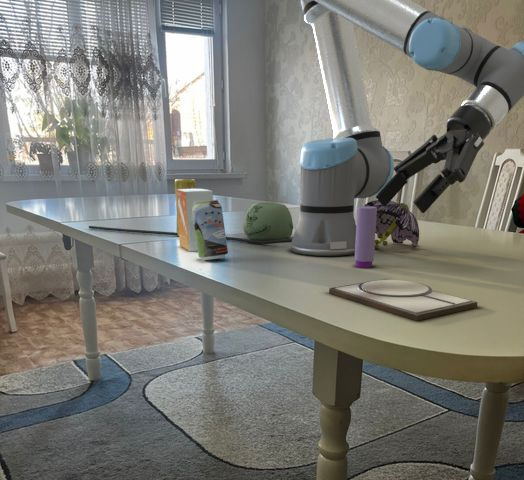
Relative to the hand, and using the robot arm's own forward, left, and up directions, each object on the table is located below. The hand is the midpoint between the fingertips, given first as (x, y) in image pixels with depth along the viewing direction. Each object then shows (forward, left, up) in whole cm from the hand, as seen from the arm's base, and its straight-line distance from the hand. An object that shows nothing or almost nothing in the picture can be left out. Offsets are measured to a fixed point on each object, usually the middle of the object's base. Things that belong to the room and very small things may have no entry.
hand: (398, 204), depth 102 cm
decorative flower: (-15, +14, -11) cm, 23 cm away
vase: (-60, -16, -11) cm, 63 cm away
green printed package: (-25, -27, -11) cm, 38 cm away
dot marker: (-2, -6, -11) cm, 13 cm away
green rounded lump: (-45, -1, -11) cm, 46 cm away
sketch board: (+20, -19, -11) cm, 30 cm away
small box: (-40, -23, -11) cm, 47 cm away
